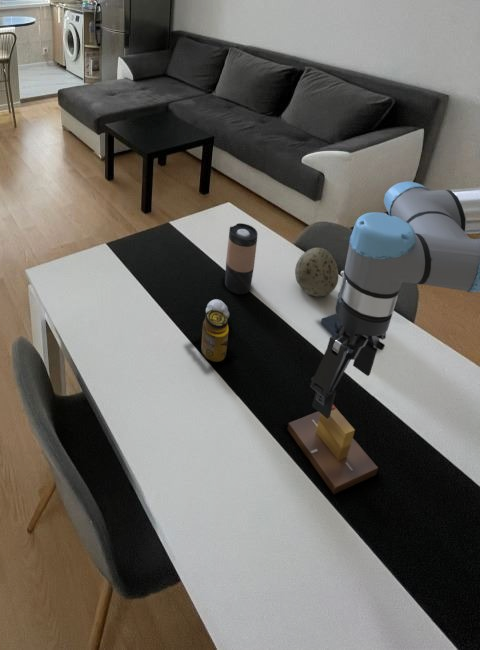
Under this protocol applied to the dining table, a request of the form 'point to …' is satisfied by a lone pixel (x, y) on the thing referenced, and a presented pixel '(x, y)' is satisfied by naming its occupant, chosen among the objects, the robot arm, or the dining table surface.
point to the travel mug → (240, 258)
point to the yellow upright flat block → (336, 433)
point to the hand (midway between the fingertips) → (341, 389)
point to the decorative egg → (317, 272)
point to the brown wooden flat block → (331, 456)
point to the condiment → (215, 335)
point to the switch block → (332, 326)
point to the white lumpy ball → (217, 307)
